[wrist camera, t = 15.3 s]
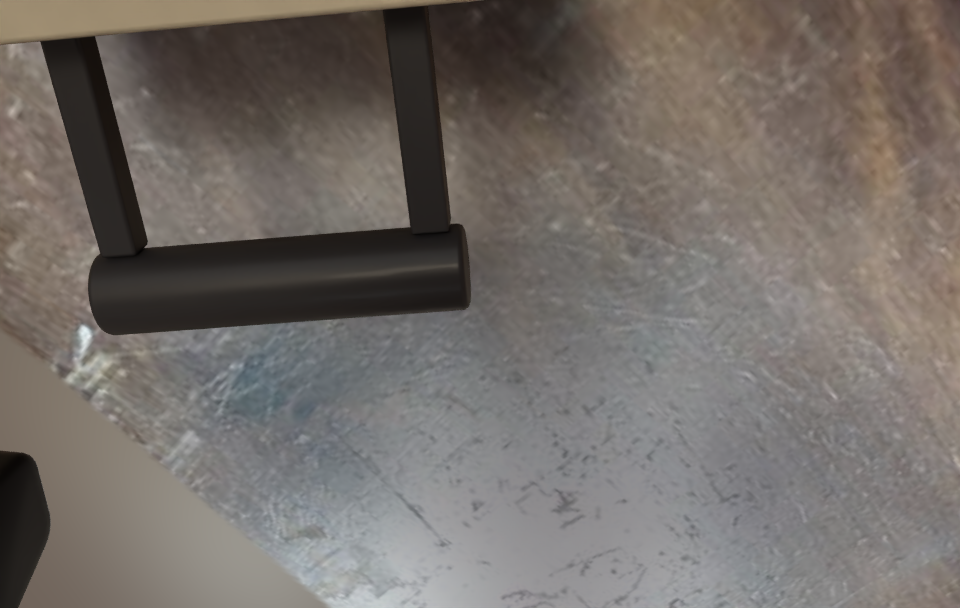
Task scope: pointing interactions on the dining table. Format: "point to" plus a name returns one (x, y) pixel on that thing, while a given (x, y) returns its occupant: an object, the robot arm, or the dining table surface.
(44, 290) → the dining table surface
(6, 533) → the robot arm
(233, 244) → the drawer
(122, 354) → the dining table surface
